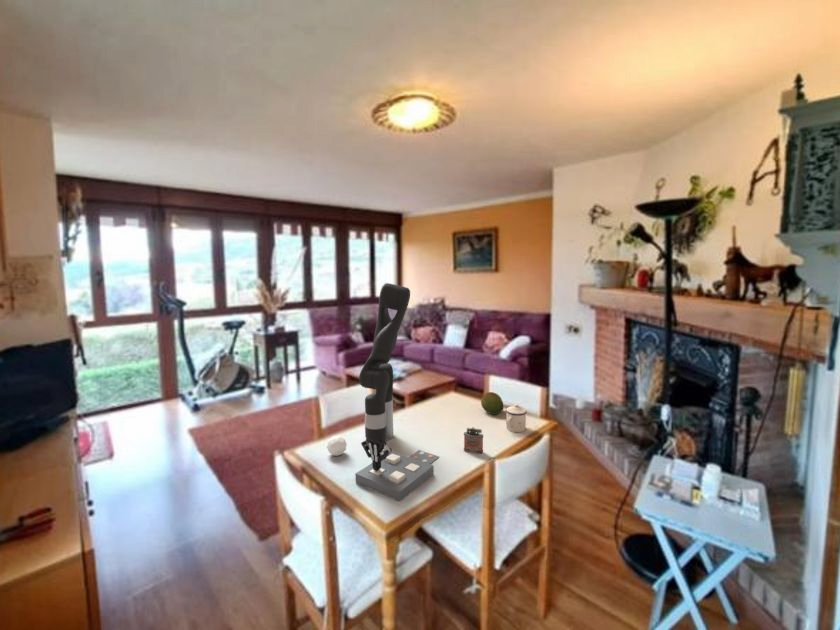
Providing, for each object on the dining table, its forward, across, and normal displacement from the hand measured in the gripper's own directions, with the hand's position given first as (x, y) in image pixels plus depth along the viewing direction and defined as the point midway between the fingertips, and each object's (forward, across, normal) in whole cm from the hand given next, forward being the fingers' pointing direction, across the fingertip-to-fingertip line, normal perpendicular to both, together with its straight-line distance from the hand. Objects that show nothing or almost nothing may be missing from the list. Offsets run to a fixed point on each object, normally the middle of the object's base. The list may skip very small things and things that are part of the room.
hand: (376, 469), depth 144 cm
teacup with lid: (+4, +24, +68) cm, 72 cm away
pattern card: (+4, +4, +23) cm, 23 cm away
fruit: (+4, +7, +81) cm, 82 cm away
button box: (+4, +5, +5) cm, 8 cm away
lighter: (+4, +18, +39) cm, 43 cm away
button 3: (+3, 0, 0) cm, 3 cm away
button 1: (+2, 0, +9) cm, 9 cm away
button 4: (+2, +9, 0) cm, 9 cm away
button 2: (+3, +9, +9) cm, 13 cm away
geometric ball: (+4, -26, +5) cm, 27 cm away
